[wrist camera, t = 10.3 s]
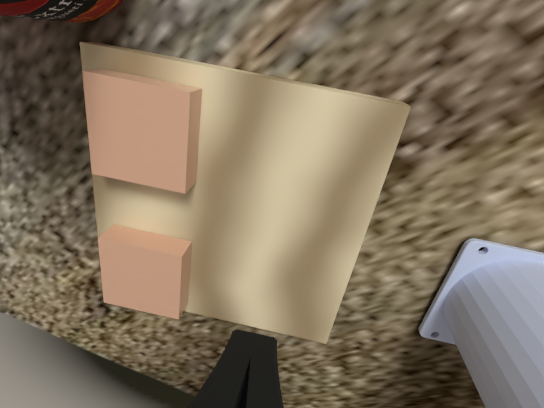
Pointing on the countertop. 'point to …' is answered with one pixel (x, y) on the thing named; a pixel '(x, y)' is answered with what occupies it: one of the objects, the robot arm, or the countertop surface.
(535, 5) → the countertop surface
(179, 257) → the tile
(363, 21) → the countertop surface
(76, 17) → the canned food
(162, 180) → the tile
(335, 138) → the board
